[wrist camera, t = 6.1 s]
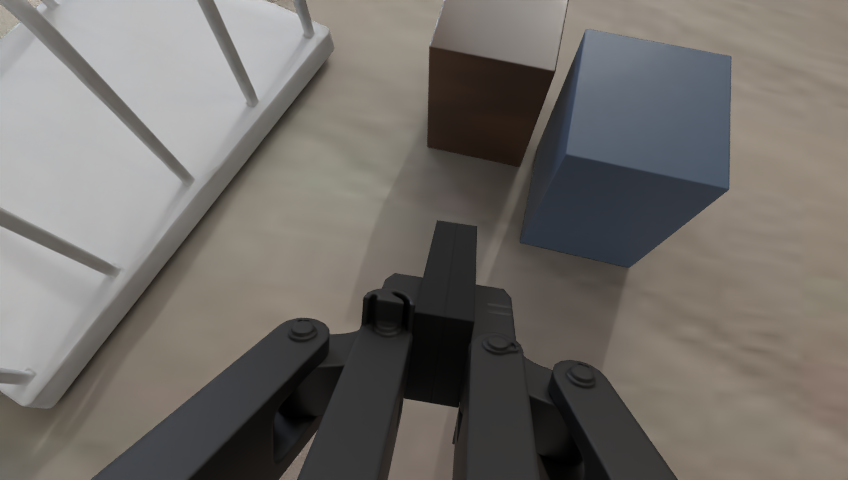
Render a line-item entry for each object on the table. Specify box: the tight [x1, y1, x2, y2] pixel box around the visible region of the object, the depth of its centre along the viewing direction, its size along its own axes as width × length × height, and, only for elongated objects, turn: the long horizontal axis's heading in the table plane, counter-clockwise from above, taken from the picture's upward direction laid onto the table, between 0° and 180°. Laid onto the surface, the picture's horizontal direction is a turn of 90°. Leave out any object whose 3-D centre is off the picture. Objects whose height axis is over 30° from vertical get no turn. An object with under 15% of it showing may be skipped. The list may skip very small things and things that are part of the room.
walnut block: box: [427, 0, 569, 167], centre depth 26 cm, size 6×6×8 cm
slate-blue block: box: [520, 29, 731, 268], centre depth 23 cm, size 6×6×9 cm
